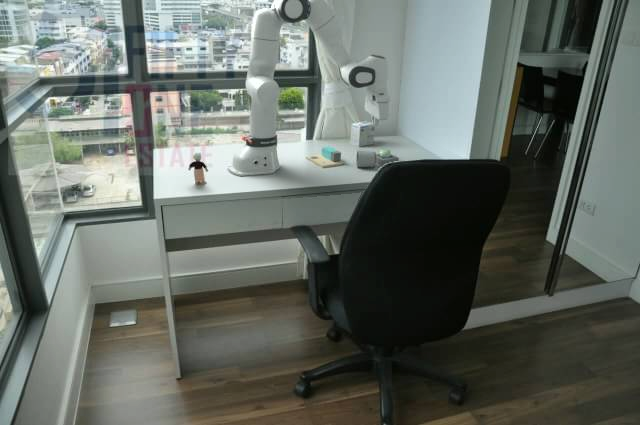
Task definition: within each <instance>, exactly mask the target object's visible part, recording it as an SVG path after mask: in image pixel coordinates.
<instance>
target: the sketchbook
mask: <svg viewBox="0 0 640 425" xmlns="http://www.w3.org/2000/svg"><path fill="white" fill-rule="evenodd" d="M305 159H307V160H308V161H310V162H311V163H312V164H315V165H316V166H318V167H320V168H322V169H325V168H330V167H337V166H343V165H345V162H343V161H342V160H341V161H336V162H333V161H330V160H328V159H327V158H325V157H323V156H322V153H319V154H313V155H305Z"/></svg>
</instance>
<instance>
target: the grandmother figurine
mask: <svg viewBox="0 0 640 425" xmlns="http://www.w3.org/2000/svg"><path fill="white" fill-rule="evenodd" d="M202 156H203V155H202V153H201V152H199V151H197V152H194V153H193V155H192V159H193V160H194V161H192V162H191V163H189V165H188V168H187V169H188V171H191V169H192V168H193V176H194V181H195V182H194V185H202V186H203V185H206V184H207V183H208V182H207V181H206V179H205V172H209V169H208V167H207V165H206V163H205V162H203V161H201V160H202ZM204 171H205V172H204Z"/></svg>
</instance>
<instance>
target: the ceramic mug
mask: <svg viewBox="0 0 640 425" xmlns="http://www.w3.org/2000/svg"><path fill="white" fill-rule="evenodd" d="M376 154H377V153H376V151H373V150H364V149H358V150H357V151H356V157H355V158H356V162H355V164H356V165H355V166H356V168H374V167H375V166H376V165H377V164H376Z"/></svg>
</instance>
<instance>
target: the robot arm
mask: <svg viewBox="0 0 640 425" xmlns="http://www.w3.org/2000/svg"><path fill="white" fill-rule="evenodd" d="M302 21H304V22H306V24H308V26H309V28H310V29H311V31H312V33H313V34H314V36H315V37H316V39H318V41H319V42H320V43H321V44H322V45H324V47H326V49H327V50H328V51H329V53H330V55H331V56H332V57H333V60H334V61H335V62H336V64H337V67H338V71H339V77H340V78H341V80H342V82H343V83H346V84H347V85H349V86H351V87H352V88H355V89H360V88H361V89H362V88H365V87H366V88H365V89H366V90H365V92H366V94H365V99H364V110H365V111H366V112H367V113H369V114H370V115H371V116H370V117H371V122H372V125H374V126H375V127H378V126H379V121H387V119H388V118H389V111H390V102H391V96H390V94H389V93H388V84H387V80H388V76H389V72H388V71H389V66H388V64H389V63H388V60H387V58H386V57H385V56H382V55H378V54H370V55H369V56H368V57H367V58H365V59H363V60H362V61H359V62H358V61H357V60H354V59H353V58H352V57H351V55H350V54H349V52H348V51H347V48H346V47H345V45H344V44H343V41H342V33H343V28H342V24H341V22H340V20H339V18H338V16H337V15H336V14H335V12H334V11H333V9H332V7H331V6H330V5H329V3H328V2H327V1H326V0H272V2H271V3H270V5H269V6H268V8H266V7H265V8H261V9H258V10H257V11H256V12H255V14H254V16H253V21H252V27H251V34H250V35H251V36H250V37H251V38H250V39H251V40H250V57H249V63H248V66H247V67H248V69H247V74H246V80H245V89H246V92H247V94H248V95H249V97H250V98H251V105H250V106H251V107H250V114H249V117H248V118H249V134H248V136H246V135H244V134H242V136H241V140H242V141H245V144H244V145H243V146H241V147H240V149H238V150H237V151H236V152H235V153H234V154H233V156H232V163H229V164H227V170H228V171H229V172H230V173H231V174H233V175H235V176H239V177H243V176H255V175H267V174H268V175H270V174H275V173H276V171H277V170H279V169H280V168H281V165H280V161H279V155H278V150H277V147H278V135H277V113H278V106H279V100H280V99H281V98H280V97H281V90H280V87H279V84H278V83H277V81H276V80H274V74H275V70H276V67H277V63H278V62H279V53H280V52H279V51H280V37H281V36H280V35H281V34H280V33H281V30H282V27H283V25H284V24H285V23H286V24H297V23H300V22H302Z"/></svg>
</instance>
